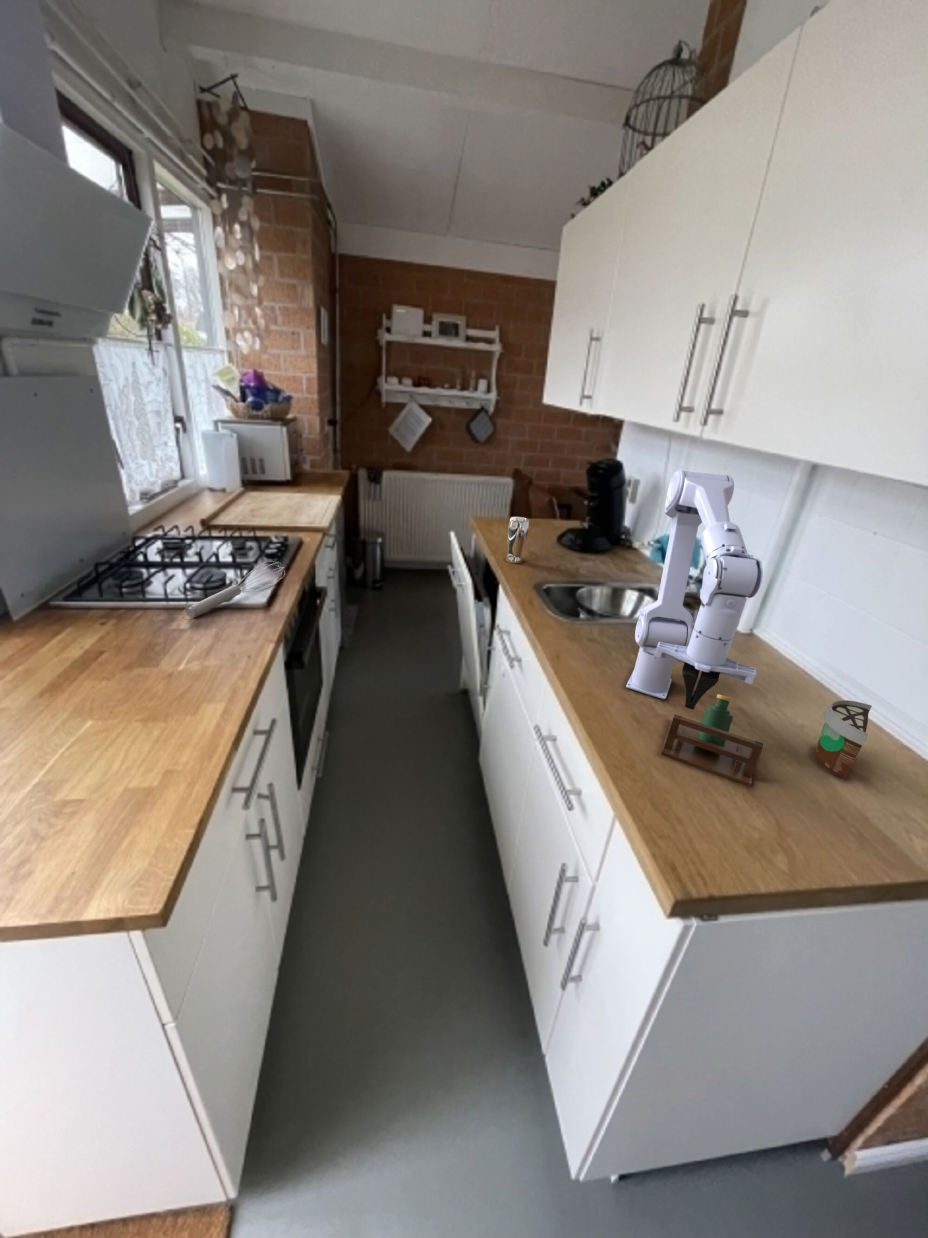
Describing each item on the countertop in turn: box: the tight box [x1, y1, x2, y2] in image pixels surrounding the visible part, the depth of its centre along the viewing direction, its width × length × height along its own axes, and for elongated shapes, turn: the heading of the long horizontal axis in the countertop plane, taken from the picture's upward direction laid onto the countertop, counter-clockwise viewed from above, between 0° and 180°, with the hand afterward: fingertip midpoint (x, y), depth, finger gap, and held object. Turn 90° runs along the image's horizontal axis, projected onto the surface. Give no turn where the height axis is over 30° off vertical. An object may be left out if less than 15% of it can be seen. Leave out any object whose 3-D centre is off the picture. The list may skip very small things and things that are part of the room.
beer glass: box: [504, 516, 530, 564], centre depth 177 cm, size 7×7×15 cm
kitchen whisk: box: [180, 560, 286, 621], centre depth 130 cm, size 6×34×6 cm, turn 159°
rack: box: [660, 713, 764, 787], centre depth 88 cm, size 11×14×7 cm
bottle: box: [697, 693, 734, 747], centre depth 89 cm, size 4×4×9 cm
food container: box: [813, 699, 873, 780], centre depth 89 cm, size 12×6×10 cm, turn 141°
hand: (689, 705), depth 84 cm, fingers closed
